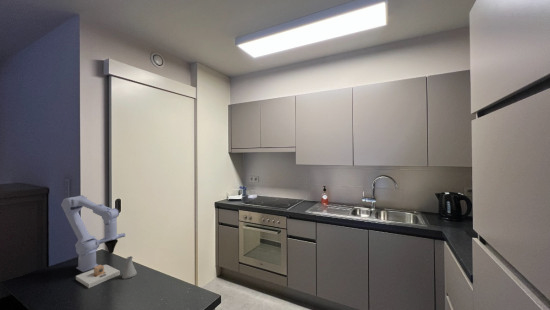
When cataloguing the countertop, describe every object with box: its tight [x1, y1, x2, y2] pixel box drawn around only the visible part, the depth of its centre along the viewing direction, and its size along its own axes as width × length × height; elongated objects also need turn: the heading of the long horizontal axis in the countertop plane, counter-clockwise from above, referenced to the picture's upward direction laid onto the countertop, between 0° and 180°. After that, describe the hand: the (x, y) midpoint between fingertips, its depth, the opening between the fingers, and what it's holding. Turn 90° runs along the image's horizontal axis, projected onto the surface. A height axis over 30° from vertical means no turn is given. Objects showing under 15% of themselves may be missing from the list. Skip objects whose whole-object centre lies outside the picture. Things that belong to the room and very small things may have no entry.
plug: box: [93, 264, 104, 277], centre depth 118 cm, size 5×3×6 cm, turn 61°
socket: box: [75, 264, 121, 289], centre depth 119 cm, size 16×14×2 cm
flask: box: [121, 256, 138, 280], centre depth 120 cm, size 7×7×10 cm
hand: (111, 252), depth 128 cm, fingers closed
